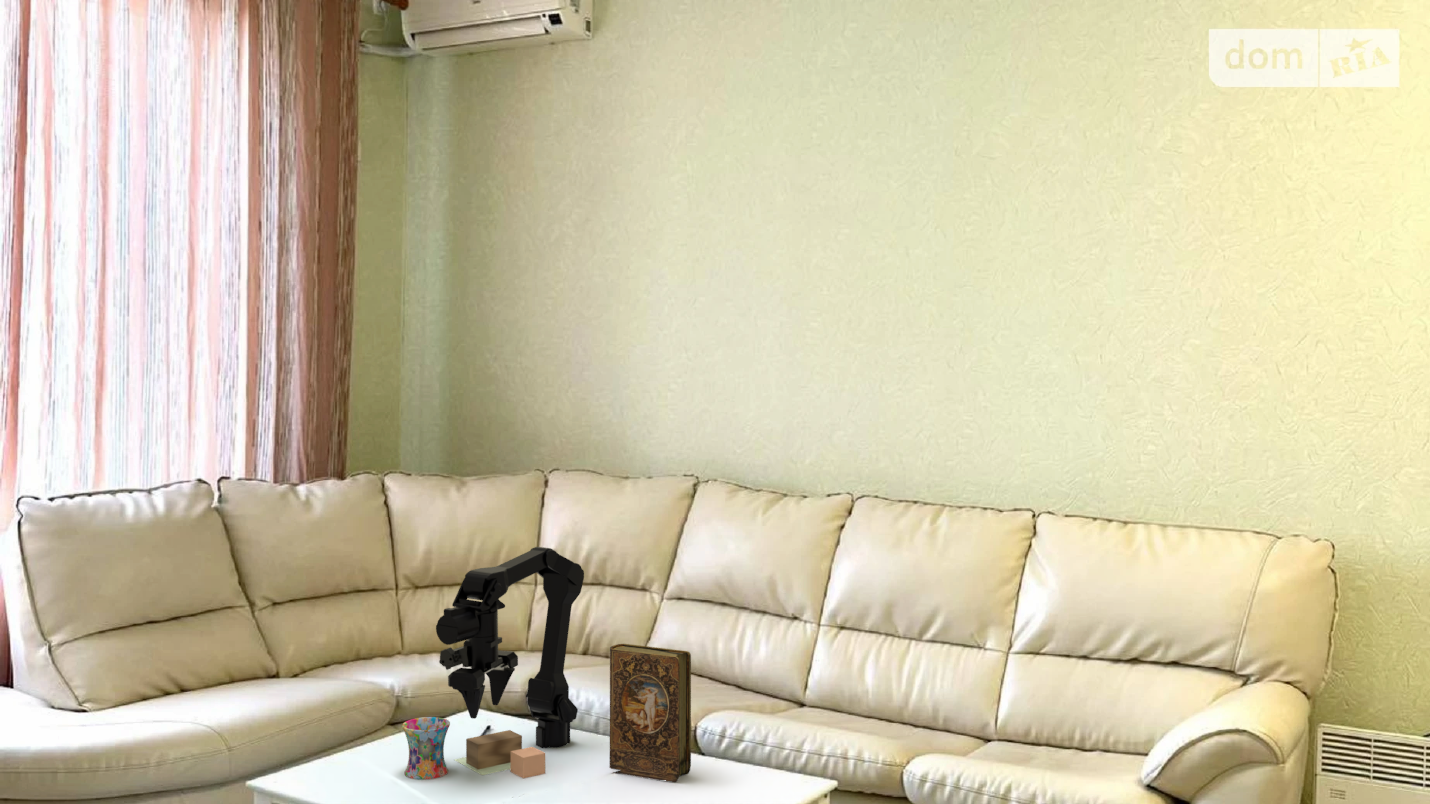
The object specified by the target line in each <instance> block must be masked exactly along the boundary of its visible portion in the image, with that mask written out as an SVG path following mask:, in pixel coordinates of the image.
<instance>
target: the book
mask: <svg viewBox="0 0 1430 804" xmlns="http://www.w3.org/2000/svg"><path fill="white" fill-rule="evenodd" d="M691 699H692V655H691V652H690V651H689V650H681V649H671V648H663V647H655V646H647V645H638V644H629V643H618V644H614V645H612V646H610V647H609V768H610V769H611V770H615V771H612V773H613V774H620V775H624V776H629V777H630V776H631V777H638V778H642V777H643V779H648V778H650V780H656V781H660V780H666V781H665V782H668V781H672V782H671V783H676V782H678V781H679V779H680V777H682V776H686V775H688V774H689V773H690V772H691V766H692V700H691Z"/></svg>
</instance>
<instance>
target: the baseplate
mask: <svg viewBox="0 0 1430 804" xmlns="http://www.w3.org/2000/svg"><path fill="white" fill-rule="evenodd" d="M454 761H455V762H457V763H458V764H461V765H462V766H464V767H465V768H468V769H470V770H471V771H473V772H475V773H478V774H479V775H481V776H485V775H489V774H494V773H499V772H504V771H508V770H511V762H510V763H505V764H501V765H496V766H492V767H487V768H483V769H476V768H474V767H473V766H471V765H469V764H467V763H466V756H464V757H459V758H455V759H454Z"/></svg>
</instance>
